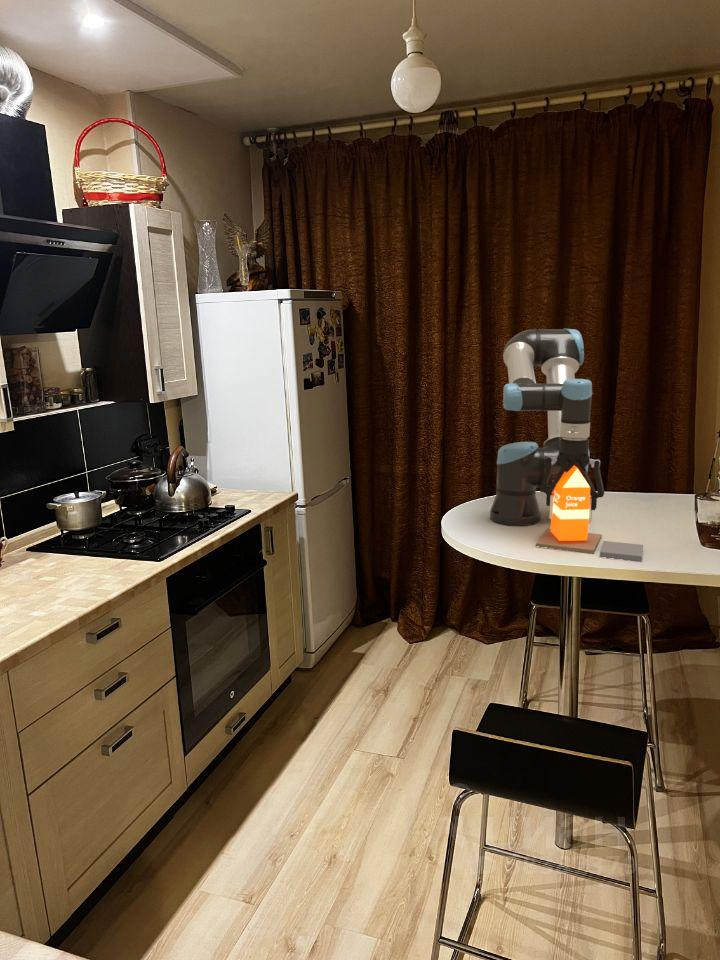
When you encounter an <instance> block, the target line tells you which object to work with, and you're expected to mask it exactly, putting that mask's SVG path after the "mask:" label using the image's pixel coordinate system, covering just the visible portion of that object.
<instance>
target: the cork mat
mask: <svg viewBox="0 0 720 960" xmlns="http://www.w3.org/2000/svg"><path fill="white" fill-rule="evenodd" d="M602 536H603V534H601V533H594V532H593V533H592V532H588V534H587V540H573V541H559V540H558V539H557V538H556V537H555V535H554V534H553V533H552V532H551V528H546V529H545V531H544V532H543V533H542V535H541V536H540V537H539V539H538V540H537V541H536V542H535V547H536V546H539V547H538V548H541V547H547V548H546V549H549V548H554V549H553V550H557V549H561V550H560V551H566V550H568V551H567V552H574V551H575V552H574V553H582V552H583V553H584V554H591V553H592V554H593V555H594V554H595V552H596V550H597V548H598V545H599V544H600V542H601V540H600V539H602ZM583 553H582V554H583Z"/></svg>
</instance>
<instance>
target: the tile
mask: <svg viewBox="0 0 720 960" xmlns="http://www.w3.org/2000/svg"><path fill="white" fill-rule="evenodd" d="M643 552H644V544H638V543H628V542H621V541H619V542H618V541H611V540H610V541H609V540H603V541H602V545H601V548H600V551H599V558H600V557H606V558H605V559H609V558H614V559H613V560H618V559H623V560H622V561H628V560H630V561H629V562H639V563H642V561H643Z"/></svg>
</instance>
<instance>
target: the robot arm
mask: <svg viewBox="0 0 720 960" xmlns="http://www.w3.org/2000/svg"><path fill="white" fill-rule="evenodd" d="M584 348H585V347H584V340H583V336H582V334H581V332H580V331H579V330H577V329H574V328H573V329H572V328H562V329H561V328H559V329H557V328H556V329H555V328H554V329H553V328H551V329H550V328H549V329H545V328H543V329H541V328H539V329H536V328H535V329H532V328H531V329H527V330H524V331H521V332H518V333H517V334H515V335H514V336H513V337H511V338H510V339H509V340H508V341H507V343H506V345H505V346H504V348H503V352H502V353H503V354H502V358H503V363H504V364H505V366H506V367H507V374H508V383H506V384H505V385H504V386H503V396H502V398H503V400H502V402H503V403H502V404H503V405H502V407H503V409H504V410H506V411H514V412H525V411H527V412H529V411H531V412H532V411H533V412H534V411H535V412H536V411H538V412H539V411H540V412H541V411H546V412H547V435H548V437H547V439H546V440H545V441H544V442H543V445H542V446H543V447H539V445H538V443H537V442H534V441H520V442H518V441H517V442H513V443H511V442H510V443H508V444H505V445H503V446H501V447H500V448H499V449H498V451H497V460H496V464H497V471H496V472H497V473H496V494H495V497H494V500H493V502H492V505H491V508H490V511H489V519H490V520H491V521H492V522H495V523H497V524H500V525H507V526H531V525H535V524H538V523H540V522H541V520H542V519H541V518H542V512H541V509H540V505H539V503H538V502H539V501H538V499H537V496H536V492H537V487H540V488H539V491H540V492H541V493H544V494H545V495H546V497H545V498H546V499H545V500H546V501H545V502H546V506H547V507H549V517H548V518H549V519H550V520H551V519H553V514H554V513H553V512H554V494H553V493H552V492H553V490H554V488H555V486H556V484H557V483H558V481H559V480H560V478H561V477H562V475H563V474H564V472H566V473H567V472H568V471H569V470H570V469H571V468H572V467H573V466H576V467H577V468H578V469H579V471H580V472H581V474H582V475H583V477H584V478H585V480H586V482H587V483H588V485H589V486H590V502H589V519H588V524H591V522H592V518H593V515H592V514H593V511H596V509H597V503H598V498H603V497H604V495H605V488H604V484H603V478H602V475H601V473H602V472H601V469H600V468H601V460H600V459H599V458H597V459H592V458H590V453H591V452H590V449H589V448H590V440H589V437H590V435H591V434H590V431H591V412H592V411H591V409H592V408H591V407H592V397H593V396H592V395H593V383H592V381H591V380H590V379H585V378H576V377H575V374H576V373H577V372H578V370H579V369H580V366H582V365H583V363H584V359H585V351H584ZM534 367H540V368H541V369H540V370H541V372H542V374H544V375H545V377H546V383H539V382H537V381H536V376H535V370H534ZM589 465H590V467H591V468H593V475H594V479H595V485H596V489H595V487H594V484H593V483H592V481H591V478H590V476H589V474H588V471H589ZM553 480H554V481H553ZM596 490H597V491H596Z"/></svg>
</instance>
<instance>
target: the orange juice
mask: <svg viewBox="0 0 720 960" xmlns="http://www.w3.org/2000/svg"><path fill="white" fill-rule="evenodd" d="M553 481H554V480H553ZM552 493H553V494H554V512H553V513H554V514H553V519H550V529H551V532H552V533H553V534H554V535H555V537H556V538H557V539H558V540H559V541H573V540H587V534H588V533H589V531H588V530H589V523H588V519H589V502H590V497H591V496H590V486H589V485H588V483H587V482H586V480H585V478H584V477H583V475H582V474H581V472H580V471H579V469H578V468H577V467H576V466H573V467H572V468H571V469H570V470H569V471H568V472H567V473H566V472H564V474H563V475H562V477H561V478H560V480H559V481H558V483H557V484H556V486H555V488H554V490H553V492H552Z"/></svg>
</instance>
